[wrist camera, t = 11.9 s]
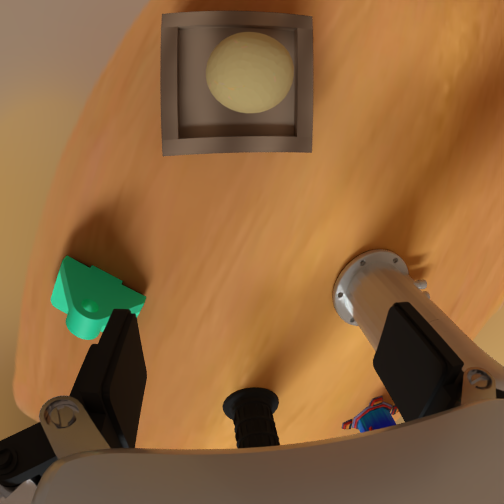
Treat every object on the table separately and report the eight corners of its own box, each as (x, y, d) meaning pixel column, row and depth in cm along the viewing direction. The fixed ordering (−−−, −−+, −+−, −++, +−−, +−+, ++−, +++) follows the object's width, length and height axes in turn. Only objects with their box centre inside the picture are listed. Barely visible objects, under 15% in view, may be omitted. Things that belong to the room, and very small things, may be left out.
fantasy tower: (337, 426, 60) (354, 470, 49) (378, 393, 57) (402, 436, 46) (366, 435, 64) (384, 473, 53) (403, 405, 61) (426, 442, 51)
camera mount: (56, 294, 40) (27, 337, 30) (69, 251, 38) (37, 290, 28) (127, 331, 43) (114, 381, 34) (147, 292, 41) (134, 340, 32)
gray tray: (293, 33, 30) (312, 16, 24) (292, 145, 36) (311, 152, 30) (170, 32, 29) (161, 14, 22) (171, 149, 34) (162, 156, 28)
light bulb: (217, 43, 25) (223, 11, 16) (282, 62, 27) (315, 41, 18) (197, 104, 27) (193, 97, 18) (262, 122, 29) (287, 125, 20)
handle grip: (234, 426, 55) (284, 412, 55) (253, 551, 31) (319, 536, 31) (214, 397, 51) (269, 380, 51) (228, 541, 27) (307, 524, 27)
